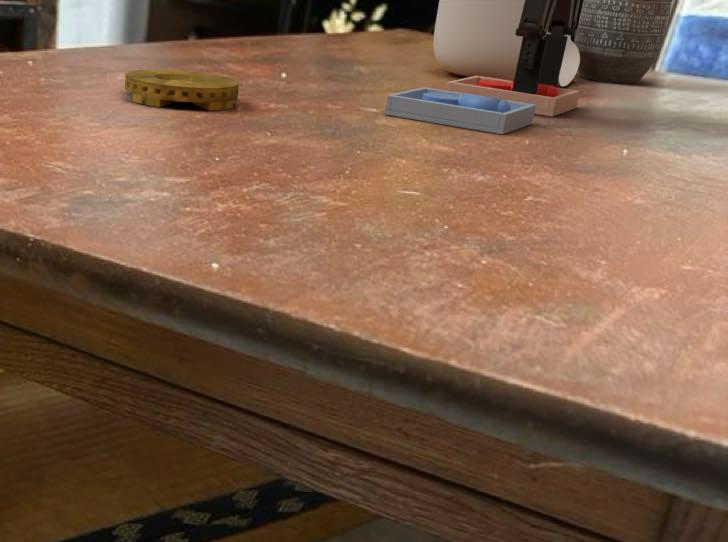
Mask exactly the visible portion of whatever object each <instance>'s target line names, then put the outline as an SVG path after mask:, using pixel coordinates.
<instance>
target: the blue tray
mask: <svg viewBox="0 0 728 542" xmlns="http://www.w3.org/2000/svg"><path fill="white" fill-rule="evenodd" d="M424 93H445V94H452V95H457V96H459V95H461V94H463V93H456V92H450V91H446V90H445V89H444V90H443V89H437V88H430V87H418V88H413V89H410V90H404V91H400V92H397V93H396V92H395V93H392V94H388V95H387V97H386V104H385V110H384V115H386V116H391V117H397V118H403V119H407V120H408V119H410V120H415V121H421V122H427V123H431V124H432V123H433V124H437V125H443V126H448V127H449V126H450V127H455V128H462V129H468V130H474V131H479V132H486V133H492V134H497V135H504V134H508V133H511V132H513V131H517V130H519V129H522V128H525V127H527V126H530V125H532V124H533V121H534V116H535V114H534V112H535V108H536V105H533V104H527V103H521V102H514V101H508V100H506V101H508V102H509V104H510V106H511V111H508V112H505V113H500V112H494V111H488V110H482V109H476V108H470V107H463V106H457V105H451V104H445V103H439V102H432V101H426V100H422V97H423V94H424Z"/></svg>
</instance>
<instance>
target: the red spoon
mask: <svg viewBox="0 0 728 542" xmlns="http://www.w3.org/2000/svg"><path fill="white" fill-rule="evenodd" d="M513 83H514V81H513V82H511V83H508V82H502V81H493V80H480V81H478V86H482V87H488V88H495V89H501V90H508V91H512V88H513ZM557 88H558V87H557ZM557 88H556V87H554V86H551V85H545V84H538V89H537V93H536V95H541V96H547V97H552V98H553V97H556V96H558V95H559V93H558V90H557Z"/></svg>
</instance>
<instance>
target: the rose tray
mask: <svg viewBox="0 0 728 542" xmlns="http://www.w3.org/2000/svg"><path fill="white" fill-rule="evenodd" d="M480 80H493V81H502V82H508V83H511V82H513V81H509V80H502V79H496V78H489V77H482V76H473V77H465V78H459V79H455V80H450V81H447V83H446V88H445V91H450V92H456V93H463V94H464V93H465V94H473V95H480V96H486V97H492V98H499V99H504V100H508V101H514V102H521V103H527V104H533V105H536V108H535V112H534V115H539V116H545V117H546V116H547V117H556V116H558V115H561V114H563V113H566V112H569V111H572V110H575V109H577V105H578V102H579V97H580V93H581V91H580V90H576V89H569V88H564V87H563V88H562V87H557V90H558V93H559V95H558V96H556V97H553V98H552V97H547V96H541V95H534V94H528V93H521V92H515V91H508V90H501V89H495V88H488V87H482V86H478V81H480Z"/></svg>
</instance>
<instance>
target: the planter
mask: <svg viewBox="0 0 728 542" xmlns="http://www.w3.org/2000/svg"><path fill="white" fill-rule="evenodd" d="M673 2H674V1H673V0H583V1H582V4H581V5H582V6H581V10H580V13H579V20H578V25H577V27H576V28H577V32H576V35H575V36H574V40H573V43H574V44H575V45H576V47H577V48H578V50H579V54H580V63H579V67H578V70H577V72H578V73H579V76H580V78H584V79H588V80H591V81H598V82H605V83H613V84H627V85H628V84H630V85H631V84H637V83H639V81H640V80H641V79H643V77H645V75H646V74H647V73H648V72H649V71H650V69H651V68H652V67H653V66H654V65H655V63H656V62H657V61H658V59H659V55H660V51H661V48H662V45H663V40H664V34H665V32H666V28H667V25H668V21H669V17H670V13H671V9H672V6H673V5H672V3H673Z"/></svg>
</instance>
